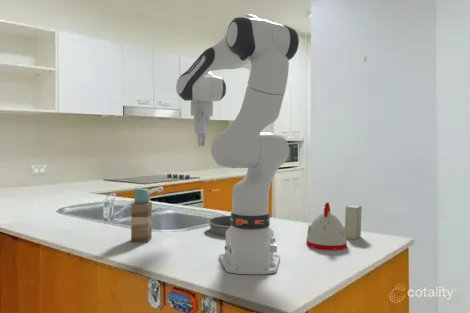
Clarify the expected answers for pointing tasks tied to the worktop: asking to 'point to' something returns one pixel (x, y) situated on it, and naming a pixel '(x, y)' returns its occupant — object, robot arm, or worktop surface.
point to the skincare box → (353, 221)
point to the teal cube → (141, 196)
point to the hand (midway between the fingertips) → (201, 146)
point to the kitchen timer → (326, 232)
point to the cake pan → (220, 225)
